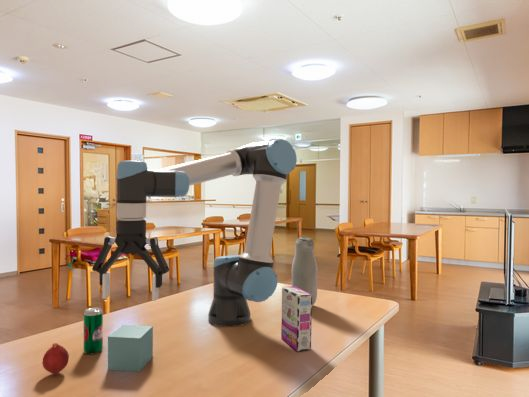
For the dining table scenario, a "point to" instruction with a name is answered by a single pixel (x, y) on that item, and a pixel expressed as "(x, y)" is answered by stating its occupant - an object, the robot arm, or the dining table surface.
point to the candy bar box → (296, 318)
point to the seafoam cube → (130, 348)
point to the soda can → (93, 330)
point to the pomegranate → (55, 359)
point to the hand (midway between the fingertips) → (130, 298)
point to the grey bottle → (305, 267)
